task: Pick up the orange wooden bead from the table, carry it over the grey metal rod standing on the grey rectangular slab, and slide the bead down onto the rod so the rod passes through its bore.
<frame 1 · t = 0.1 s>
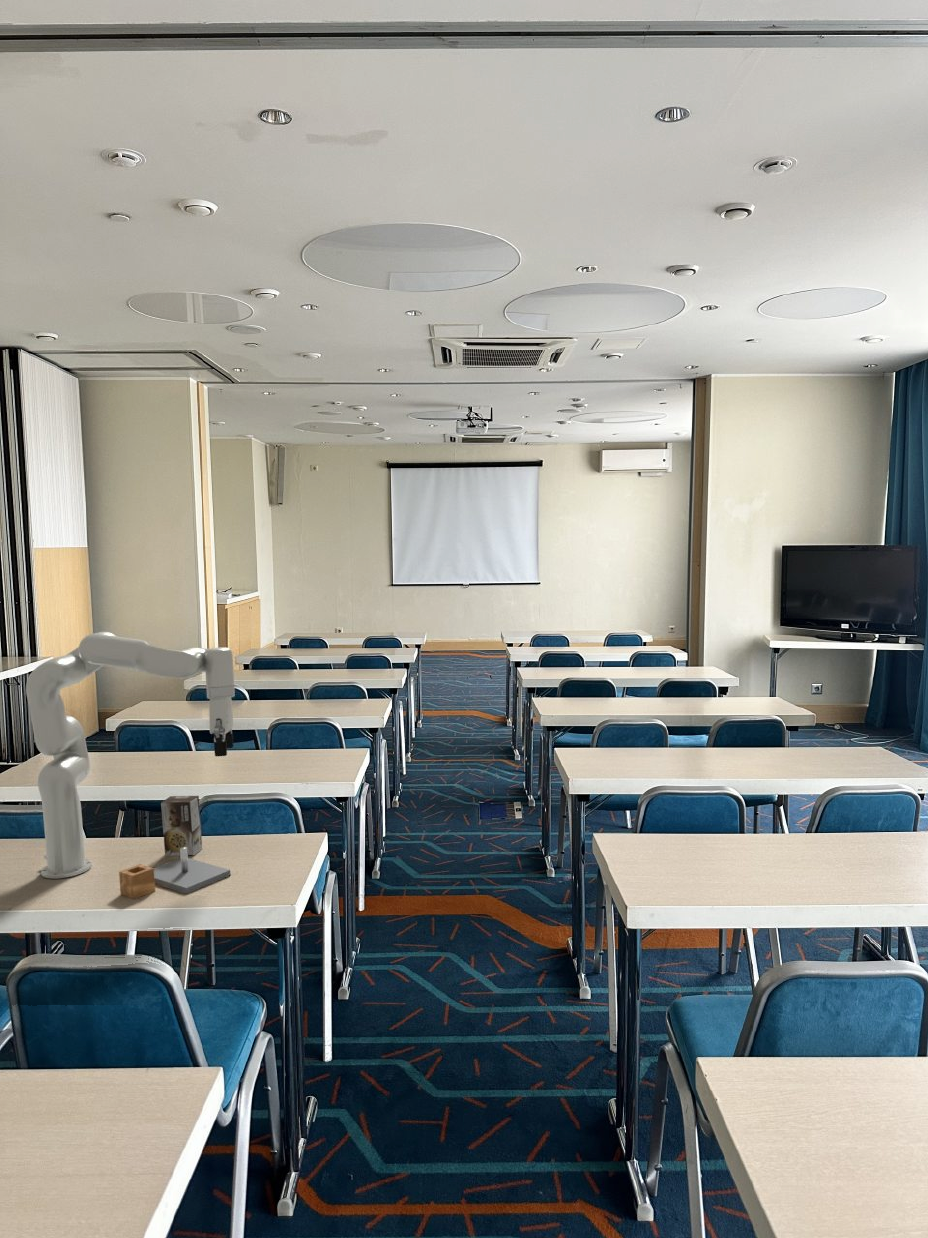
hand: (224, 751, 232), 31 cm above the table, tool pointing down, fingers open, 9 cm apart
coffee box: (183, 853, 241), on the table
grey rectangular slab: (185, 877, 222), on the table
rod: (184, 860, 222), on the grey rectangular slab, point 5 cm above the table
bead: (138, 892, 212), on the table
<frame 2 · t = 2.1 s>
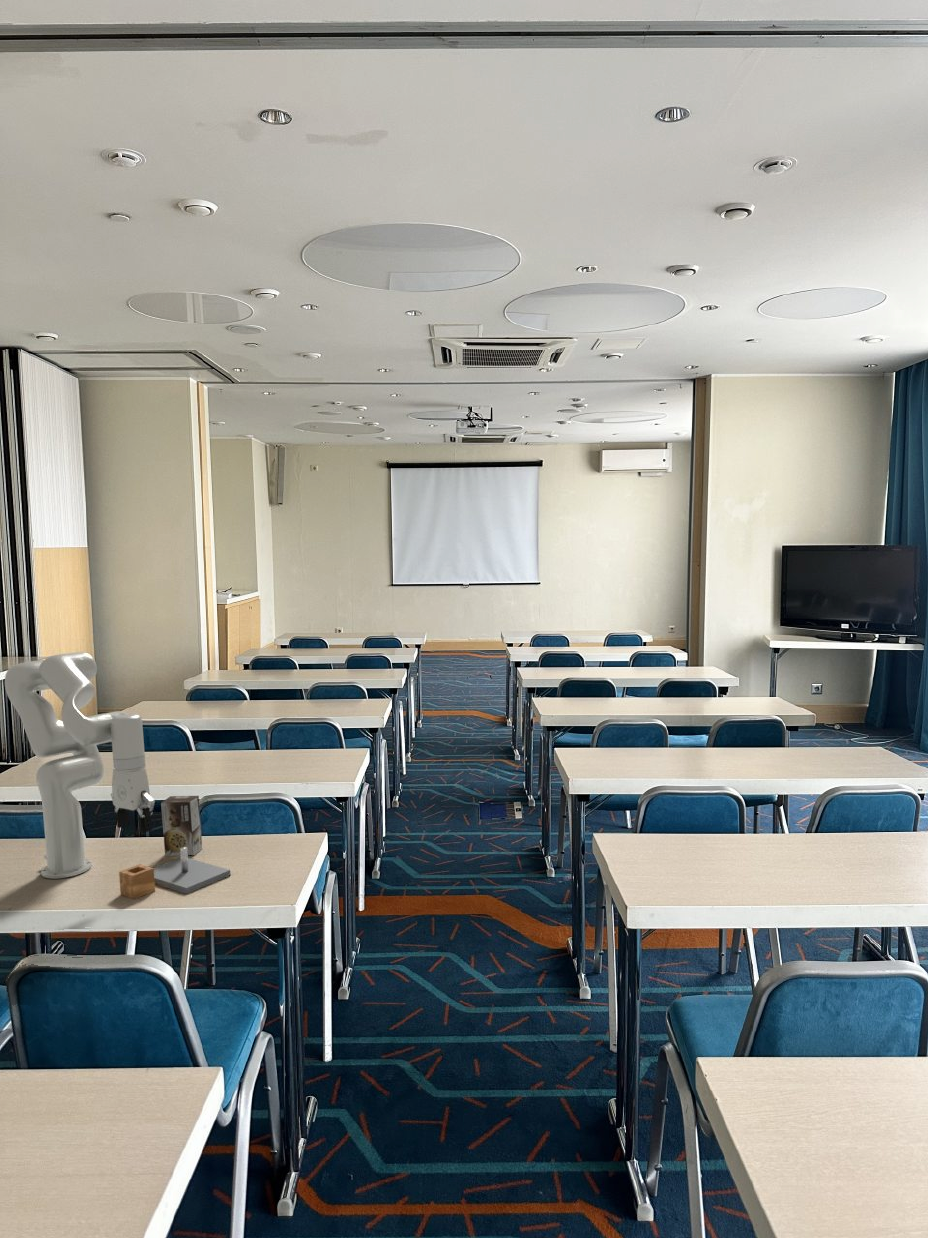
hand: (134, 829, 211), 17 cm above the table, tool pointing down, fingers open, 9 cm apart
nothing on the table moved.
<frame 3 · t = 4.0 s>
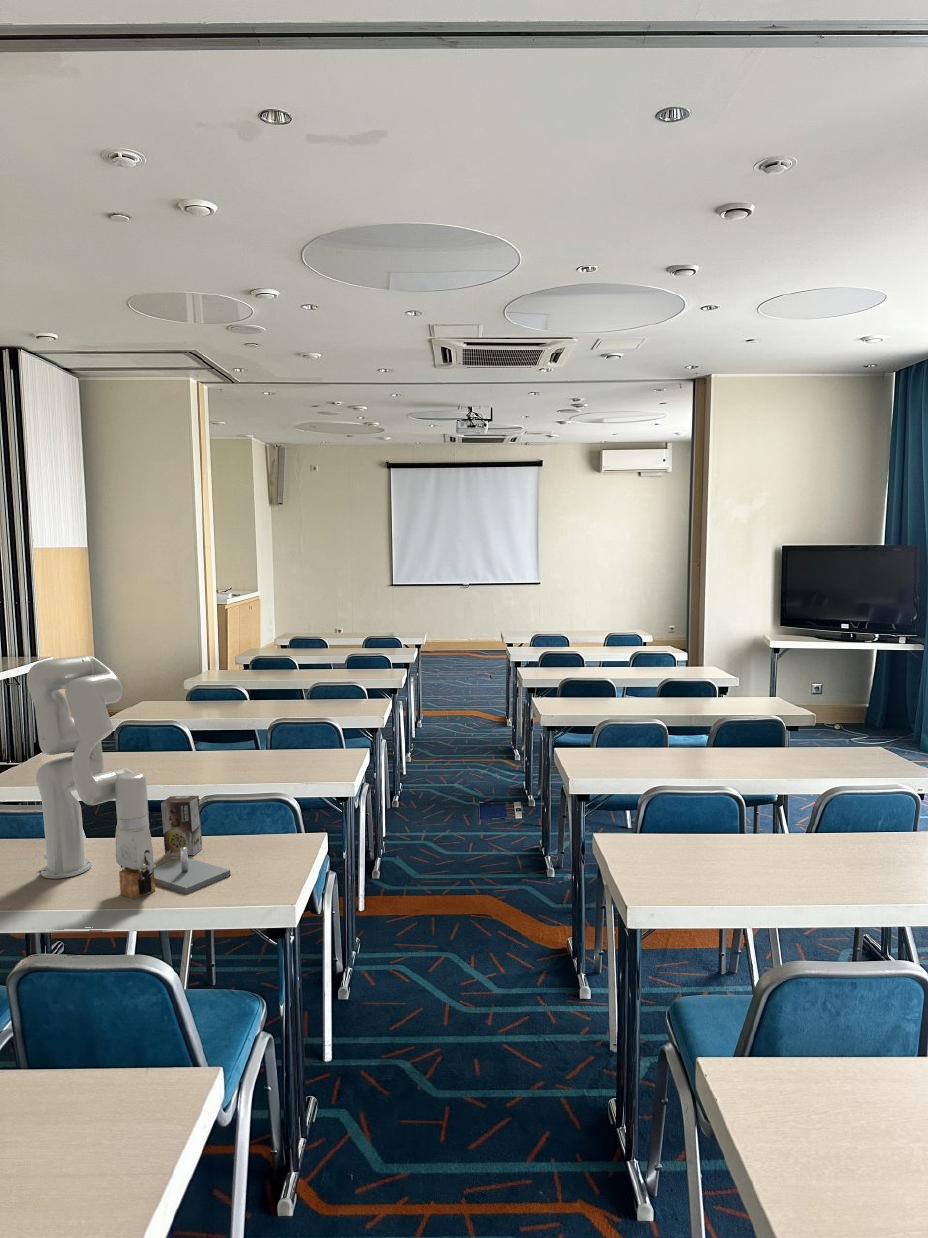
hand: (137, 889, 212), 1 cm above the table, tool pointing down, fingers closed on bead, 6 cm apart
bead: (138, 892, 212), on the table, touching gripper
everything else where it was.
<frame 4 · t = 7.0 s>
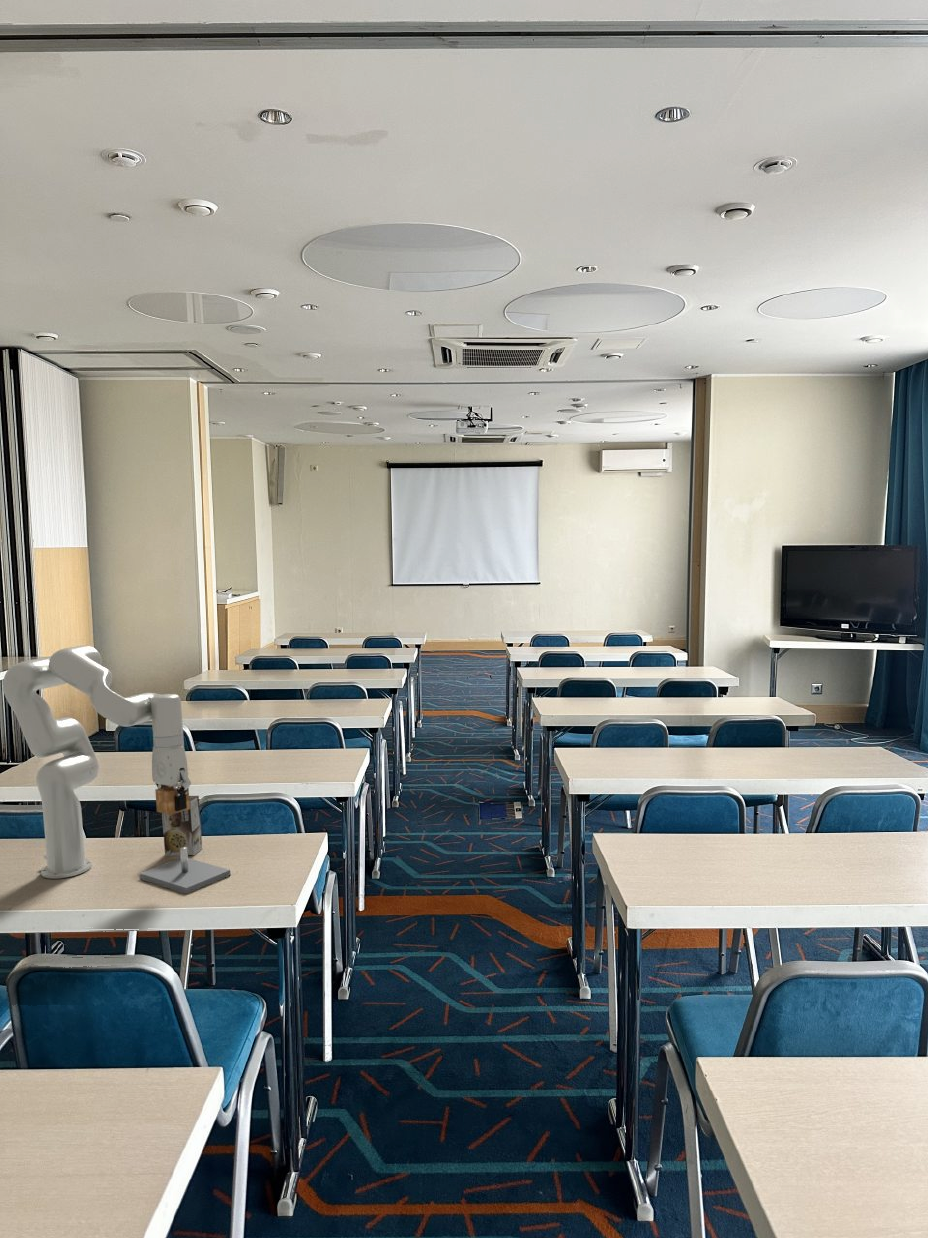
hand: (173, 807, 219), 20 cm above the table, tool pointing down, fingers closed on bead, 5 cm apart
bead: (173, 810, 219), point 19 cm above the table, touching gripper
everything else where it was.
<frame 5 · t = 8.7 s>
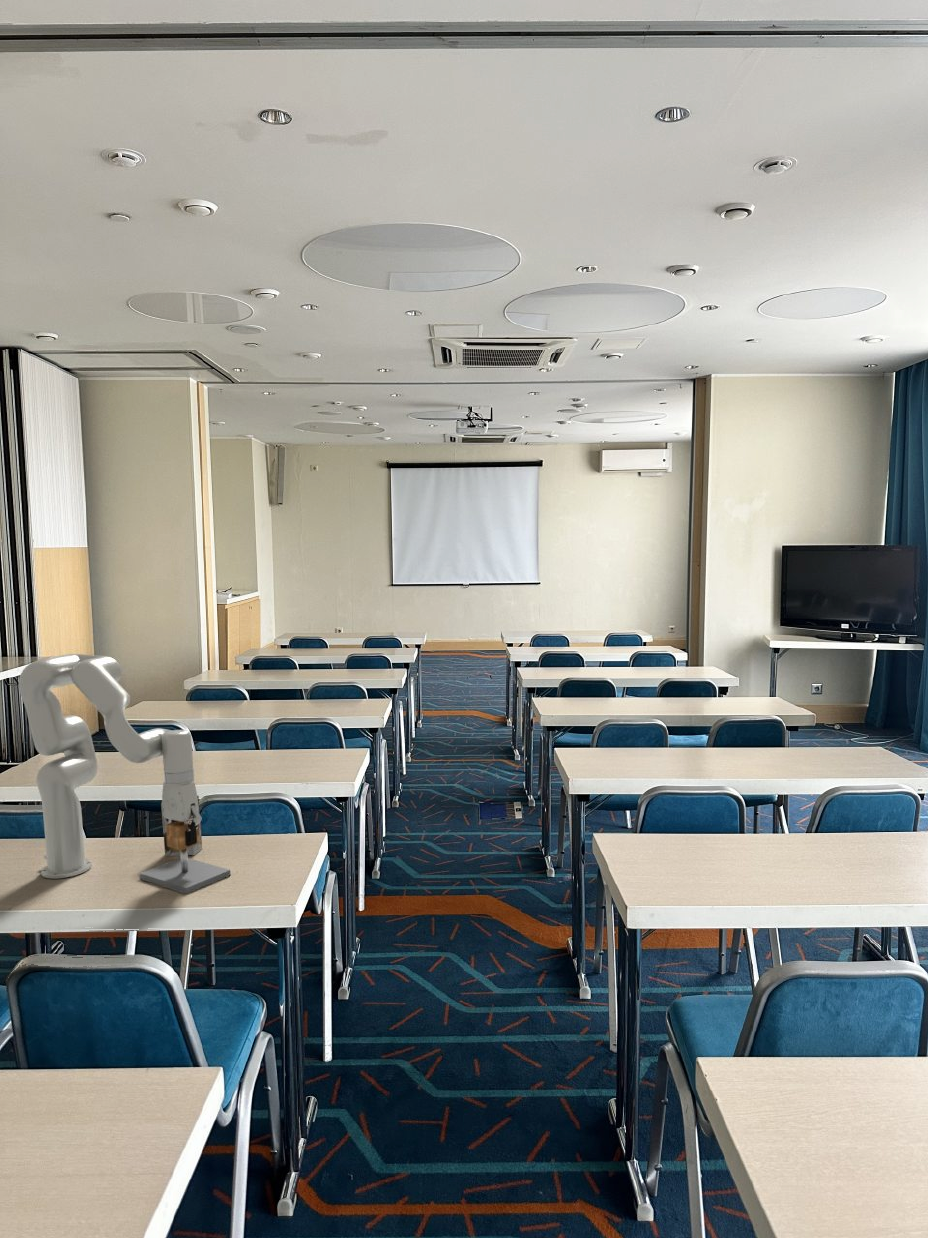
hand: (183, 842, 221), 10 cm above the table, tool pointing down, fingers closed on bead, 5 cm apart
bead: (183, 844, 221), point 9 cm above the table, touching gripper
everything else where it was.
when the fingers open (5 cm above the table, at t = 10.2 s): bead drops 2 cm, resting on grey rectangular slab.
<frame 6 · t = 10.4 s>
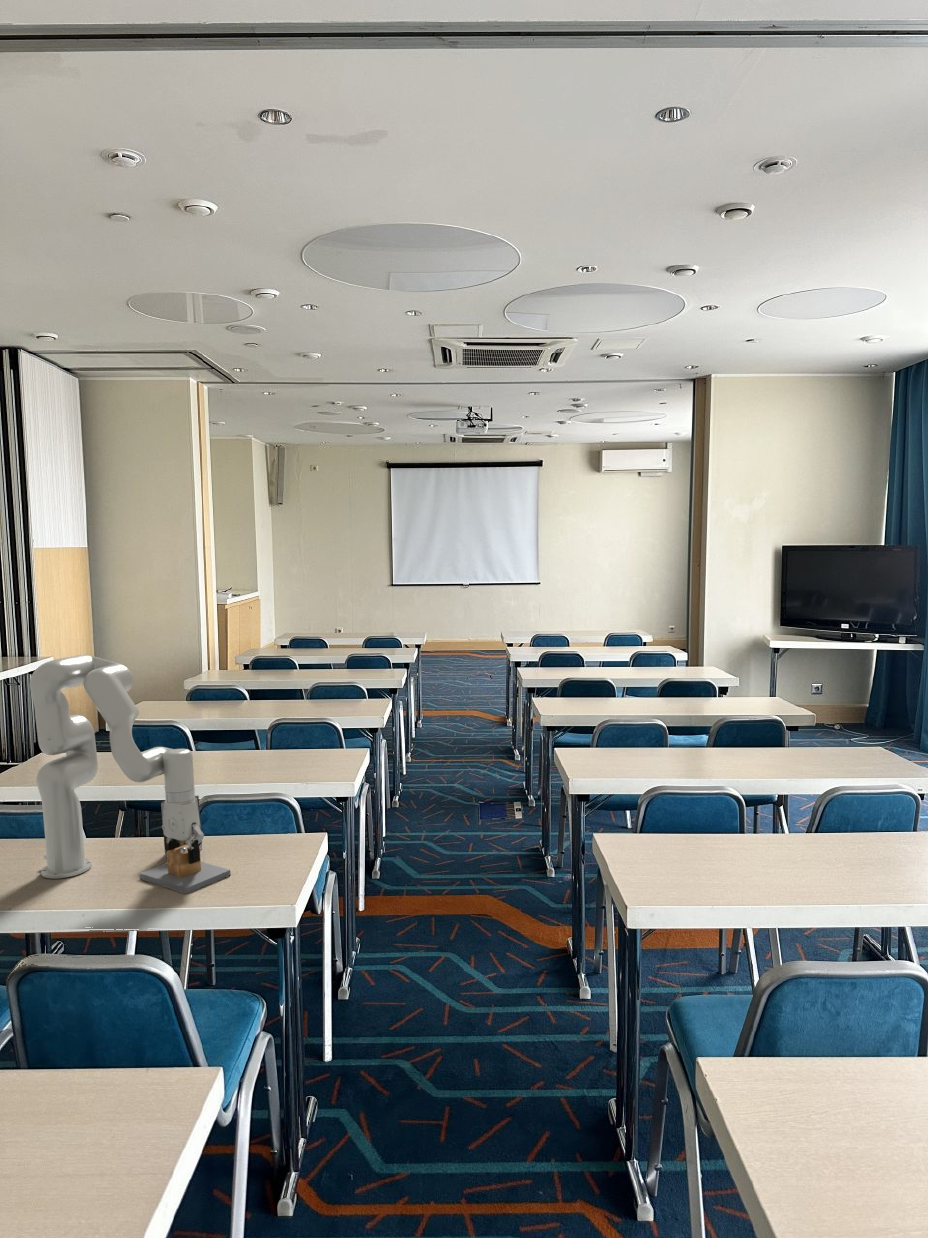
hand: (184, 859, 222), 5 cm above the table, tool pointing down, fingers open, 8 cm apart
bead: (184, 871, 222), point 1 cm above the table, touching grey rectangular slab
everything else where it was.
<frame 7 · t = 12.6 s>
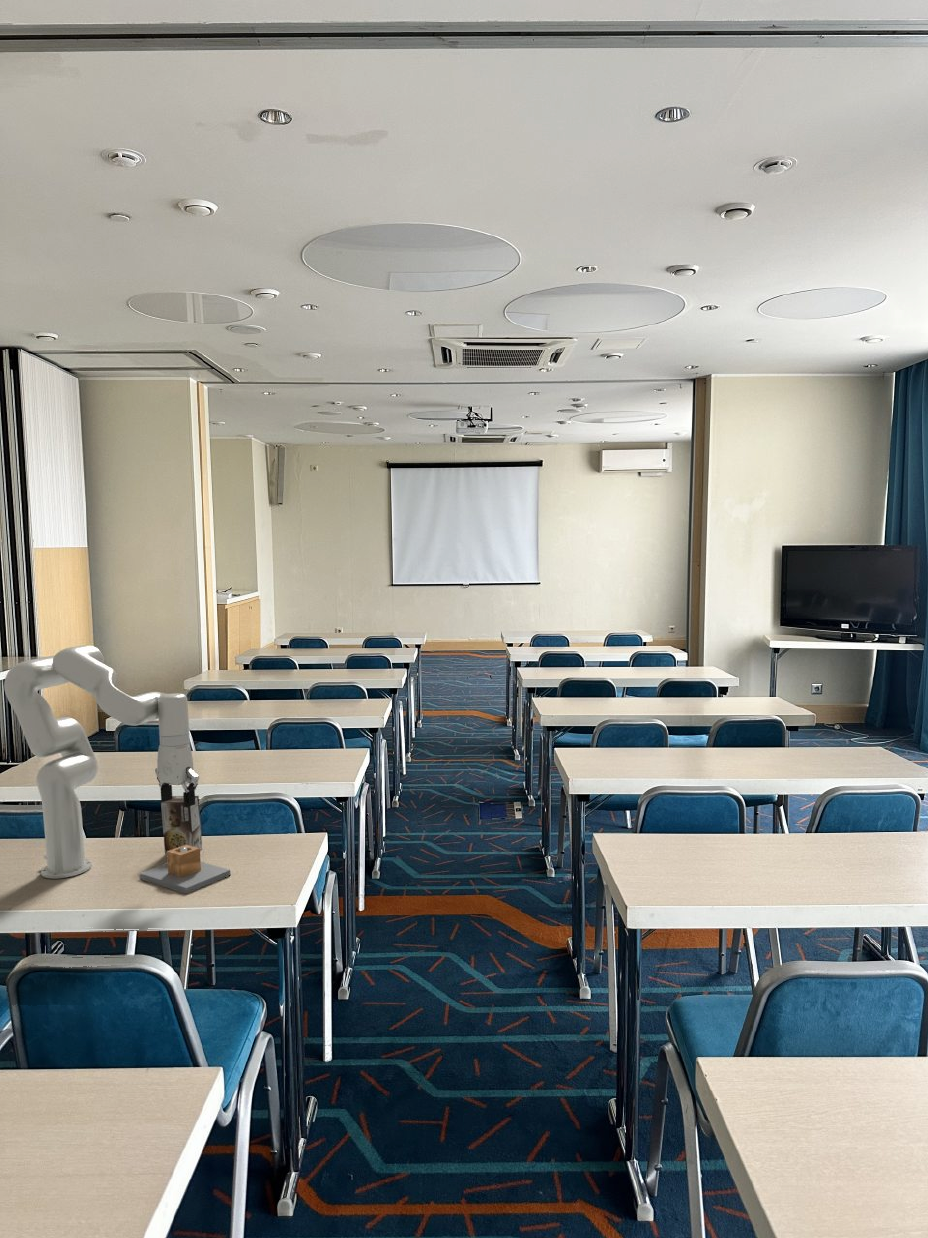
hand: (178, 803, 220), 20 cm above the table, tool pointing down, fingers open, 9 cm apart
nothing on the table moved.
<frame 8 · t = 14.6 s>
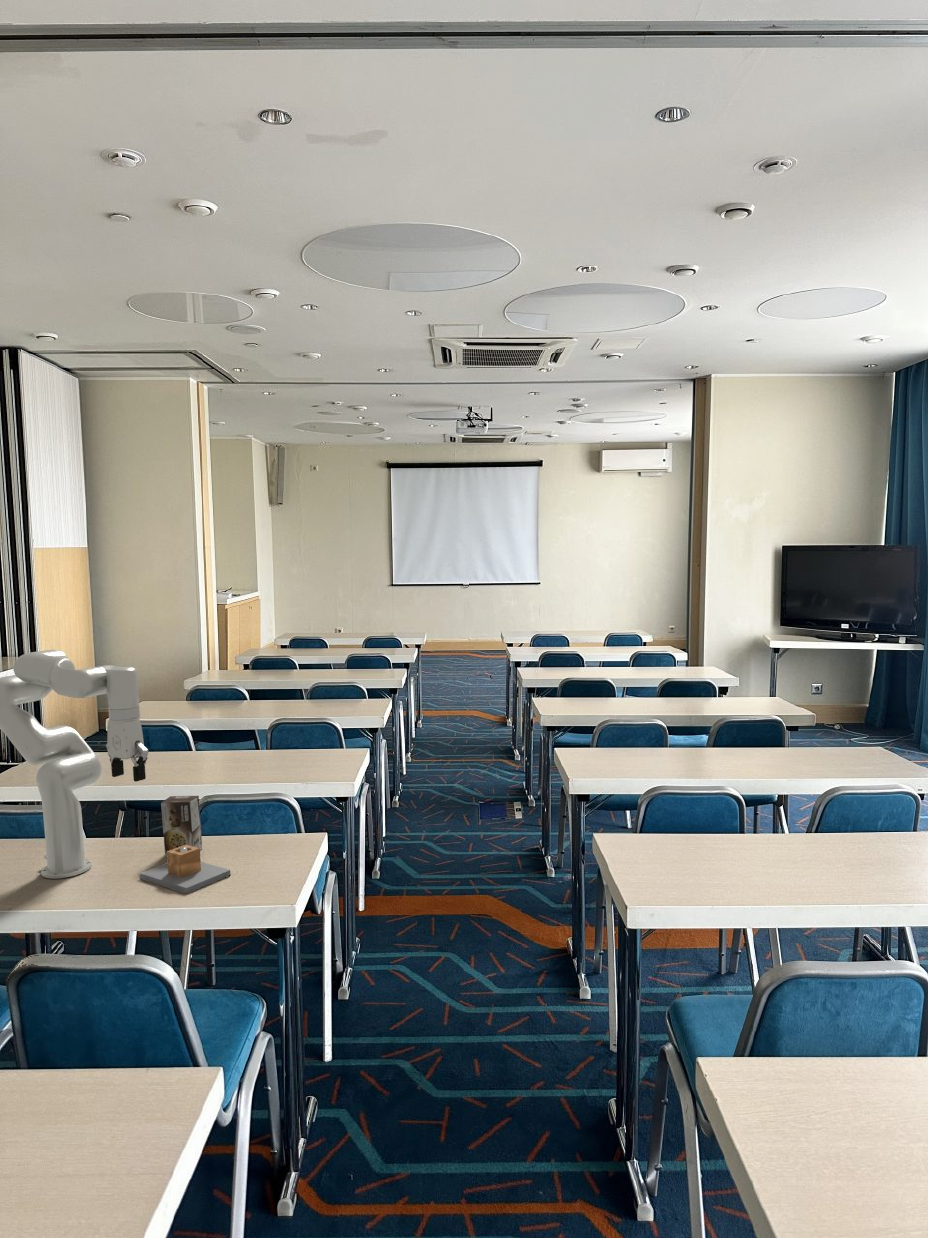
hand: (128, 778, 218), 28 cm above the table, tool pointing down, fingers open, 9 cm apart
nothing on the table moved.
at the end: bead 0.1 cm from the rod (horizontally); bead point 1.5 cm above the table; the gripper is holding nothing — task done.
